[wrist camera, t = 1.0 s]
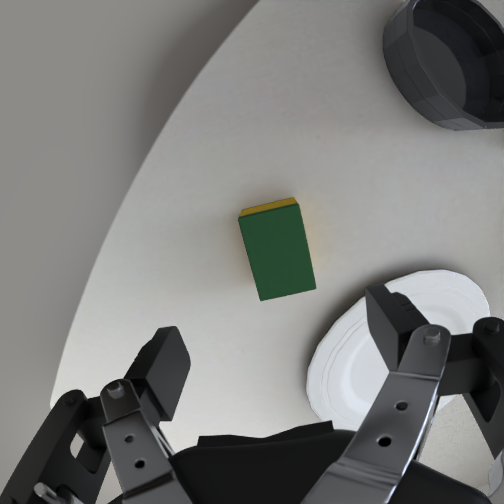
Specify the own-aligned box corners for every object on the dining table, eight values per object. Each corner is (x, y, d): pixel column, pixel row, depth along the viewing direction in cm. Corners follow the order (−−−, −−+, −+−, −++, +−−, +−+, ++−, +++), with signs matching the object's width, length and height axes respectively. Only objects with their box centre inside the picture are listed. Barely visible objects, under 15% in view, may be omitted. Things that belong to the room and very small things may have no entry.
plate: (271, 408, 29) (271, 421, 27) (368, 226, 22) (375, 232, 20) (414, 429, 30) (418, 439, 28) (508, 297, 23) (518, 304, 22)
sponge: (242, 209, 22) (237, 218, 19) (294, 197, 22) (298, 204, 19) (261, 281, 24) (260, 301, 21) (310, 270, 24) (316, 289, 20)
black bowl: (362, 4, 16) (381, -23, 12) (466, 14, 15) (493, -2, 10) (405, 136, 20) (437, 133, 15) (502, 127, 18) (536, 127, 14)
